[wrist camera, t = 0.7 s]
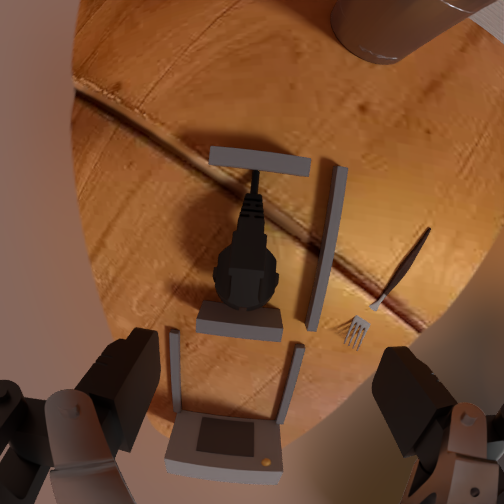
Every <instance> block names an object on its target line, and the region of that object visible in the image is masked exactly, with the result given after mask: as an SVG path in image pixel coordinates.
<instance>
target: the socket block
mask: <svg viewBox="0 0 504 504" xmlns="http://www.w3.org/2000/svg"><path fill="white" fill-rule="evenodd" d="M169 334H170V364H171V383H172V398H173V410H174V412H176V413H177V416H176V419H175V422H174V426H173V429H172V433H171V436H170V440H169V444H168V447H167V450H166V454H165V458H164V460H165V465H166V469H167V472H168V473H172V474H176V475H182V476H187V477H193V478H199V479H206V480H213V481H222V482H231V483H244V484H266V485H277V484H278V482H279V479H280V477H281V475H282V473H283V463H282V450H281V438H280V426H279V424H283V423H284V420H285V417H286V414H287V411H288V407H289V404H290V401H291V398H292V394H293V391H294V388H295V384H296V381H297V377H298V374H299V370H300V366H301V363H302V359H303V355H304V352H305V345H304V344H296V345H295V349H294V353H293V357H292V361H291V365H290V369H289V373H288V377H287V381H286V384H285V388H284V392H283V396H282V399H281V403H280V406H279V410H278V413H277V417H276V420H259V419H246V418H236V417H227V416H218V415H211V414H204V413H197V412H191V411H185V410H182V403H181V378H180V331H179V330H173V329H171V331H170V333H169Z"/></svg>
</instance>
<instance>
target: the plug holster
mask: <svg viewBox="0 0 504 504" xmlns="http://www.w3.org/2000/svg"><path fill="white" fill-rule="evenodd" d="M310 164H311V158H306V157H299V156H293V155H286V154H280V153H272V152H265V151H257V150H248V149H239V148H229V147H218V146H211V147H210V155H209V165H214V166H223V167H233V168H242V169H251V170H259V171H267V172H275V173H282V174H289V175H296V176H304V177H309V172H310ZM347 173H348V168H346V167H342V166H333V173H332V181H331V188H330V195H329V201H328V208H327V214H326V220H325V226H324V232H323V238H322V243H321V249H320V254H319V259H318V265H317V270H316V275H315V280H314V285H313V289H312V294H311V299H310V303H309V308H308V312H307V317H306V321H305V326H306V329H307V331H315V332H316V331H317V327H318V323H319V319H320V315H321V311H322V307H323V302H324V298H325V294H326V289H327V285H328V280H329V276H330V271H331V266H332V261H333V257H334V251H335V246H336V241H337V236H338V230H339V225H340V219H341V213H342V207H343V200H344V194H345V187H346V180H347ZM246 309H247V308H246V307H239V310H235V309H233V308H231V307H229V306H227V305H226V304H225V303H220V302H212V301H205V300H203V303H202V305H201V308H200V311H199V313H198V316H197V318H196V332H197V333H204V334H211V335H218V336H226V337H235V338H243V339H253V340H263V341H274V342H281V338H282V333H283V324H282V318H281V313H280V309H272V308H263V307H260V308H258V309H256V310H252V311H246Z"/></svg>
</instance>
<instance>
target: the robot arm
mask: <svg viewBox="0 0 504 504" xmlns="http://www.w3.org/2000/svg"><path fill="white" fill-rule="evenodd" d="M496 1H498V0H337V2H336V4H335V6H334V8H333V10H332V13H331V25H332V29H333V31H334V33H335V35H336V36H337V38H338V39H339V41H340V42H341V43H342V44H343V45H344V46H345V47H346V48H347V49H348V50H349V51H351V52H352V53H353V54H355V55H357V56H358V57H360V58H362V59H364V60H366V61H369V62H371V63H376V64H382V65H389V64H394V63H396V62H398V61H400V60H402V59H403V58H405V57H406V56H408V55H409V54H411V53H412V52H414V51H415V50H417V49H418V48H420V47H421V46H423V45H424V44H426V43H427V42H429V41H431V40H432V39H434V38H435V37H437V36H438V35H440V34H441V33H443V32H445V31H446V30H448V29H450V28H451V27H453V26H454V25H456V24H458V23H459V22H461V21H463V20H464V19H466V18H468V17H470V16H471V15H473V14H475V13H477V12H478V11H480V10H482V9H483V8H485V7H487V6H489V5H491V4H493V3H495V2H496ZM160 373H161V365H160V352H159V337H158V332H157V331H155V330H149V329H143V328H138V327H135V328H134V329H133V331H132V332H131V333H130V335H129V336H128V337H127V339H126V340H125V339H118V340H116V341H114V342H113V343H111V344H109V345H108V346H107V347H106V349H105V350H104V351H103V352H102V354H101V356H99V357H98V359H97V360H96V363H94V364H93V365H92V366H91V368H90V369H89V370H88V372H87V373H86V374H85V375H84V377H83V378H82V379H81V381H80V382H79V383H78V385H77V386H76V387H75V389H66V390H61V391H58V392H56V393H54V394H52V395H51V396H50V397H49V398H48V399H47V400H39V399H33V398H26V397H24V396H23V394H22V392H21V390H20V387H19V386H18V385H17V384H16V383H14V382H12V381H10V380H0V455H1V454H2V452H3V450H4V449H5V447H6V445H7V444H9V445H10V447H9V449H8V450H7V452H6V454H5V456H4V457H3V459H2V460H1V462H0V504H34V503H35V500H36V498H37V495H38V494H39V491H40V489H41V487H42V485H43V482H44V480H45V478H46V476H47V474H48V472H49V469H50V467H55V469H54V470H51V471H50V480H51V485H52V488H53V492H54V495H55V499H56V502H57V504H136V502H135V500H134V498H133V496H132V494H131V492H130V490H129V488H128V487H127V485H126V483H125V480H124V478H123V476H122V474H121V472H120V470H119V468H118V465H117V463H116V461H115V457H116V454H117V452H118V450H122V451H126V452H131V449H132V447H133V444H134V442H135V439H136V437H137V434H138V432H139V429H140V427H141V424H142V422H143V419H144V417H145V415H146V412H147V410H148V407H149V405H150V402H151V400H152V398H153V395H154V393H155V391H156V388H157V386H158V383H159V380H160ZM433 374H434V373H433V372H432V371H431V369H430V368H429V367H428V366H427V365H426V364H424V363H423V362H422V361H420V360H419V359H417V358H416V357H415V355H414V354H413V353H412V352H411V351H410V349H409V348H408V347H406V346H398V347H387V348H386V349H385V351H384V353H383V355H382V358H381V361H380V363H379V366H378V369H377V371H376V374H375V376H374V379H373V382H372V394H373V396H374V398H375V400H376V402H377V404H378V406H379V408H380V410H381V412H382V414H383V416H384V418H385V420H386V422H387V424H388V426H389V428H390V430H391V432H392V434H393V436H394V438H395V440H396V443H397V445H398V447H399V449H400V451H401V453H402V455H403V457H404V458H406V457H410V456H413V455H417V456H418V459H417V460H416V462H415V463H414V465H413V469H412V472H411V475H410V478H409V481H408V483H407V486H406V489H405V491H404V494H403V497H402V499H401V502H400V504H504V472H503V470H502V469H501V467H500V465H499V464H498V462H497V461H498V459H499V458H500V457H501V456H502V455H503V454H504V404H503V405H502V407H501V408H500V410H499V411H498V413H497V414H496V415H485V414H484V413H483V411H482V410H481V409H480V408H478V407H477V406H475V405H473V404H470V403H459V404H458V403H457V401H456V400H455V399H454V398H453V397H452V395H451V394H450V393H449V391H448V390H447V389H446V388H445V386H444V385H443V384H442V383H441V382H439V379H438V378H437V377H436V375H433Z"/></svg>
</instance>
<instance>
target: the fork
mask: <svg viewBox="0 0 504 504" xmlns="http://www.w3.org/2000/svg"><path fill="white" fill-rule="evenodd" d="M430 230H431V228H429V229H428V230H427V232H426V233H425V234H424V236H423V237H422V238H421V240H420V241H419V242H418V244H417V245H416V246H415V248H414V249H413V250H412V251H411V253H410V254H409V255H408V256H407V258H406V259H405V260H404V261H403V263H402V264H401V265H400V267H399V268H398V270H397V271H396V273H395V274H394V276H393V278H392V279H391V281H390V283H389V284H388V286H387V288H386V289H385V291H384V293H383V294H382V296H381V297H380V298H379V300H378V301H376V302H375V303H373V304H371V305H369V307H370V308H371V309H372V310H374V311H377V309H378V307H379V305H380V303H381V302H382V300H383V299H384V298H385V297H386V296H387V295H388V294H389V292H390V291H391V290H392V289H393V288H394V287H395V286H396V285H397V284H398V283H399V282H400V280H401V279H402V278H403V277H404V276H405V274H406V273H407V272H408V270H409V268H410V267H411V265H412V263H413V262H414V260H415V258H416V256H417V255H418V253H419V251H420V249H421V247H422V246H423V244H424V242H425V240H426V239H427V237H428V235H429V233H430ZM355 322H356V326H355V329H354V331H353V334H352V337H351V339H350V342H349V345H350V343H351V341H352V339H353V337H354V335H355V333H356V330H357V328H358V327H359V325H361V327H360V330H359V332H358V335H357V337H356V340H355V342H354V345H353V348H354V346H355V344H356V342H357V340H358V337H359V335H360V333H361V331H362V330H363V328H364V327H365V330H364V332H363V335H362V337H361V340H360V343H359V345H358V348H357V351H358V349H359V347H360V344H361V342H362V340H363V338H364V336H365V334H366V332H367V330H368V328H369V327H370V323H368V322H367V321H365V320H363V319H362V318H360V317H359V316H357V315H356V316H355V317H354V319H353V321H352V323H351V326H350V328H349V331H348V333H347V336H346V338H345V341H344V344H345V342H346V340H347V338H348V335H349V333H350V331H351V329H352V327H353V325H354V324H355ZM349 345H348V346H349ZM353 348H352V349H353Z"/></svg>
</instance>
